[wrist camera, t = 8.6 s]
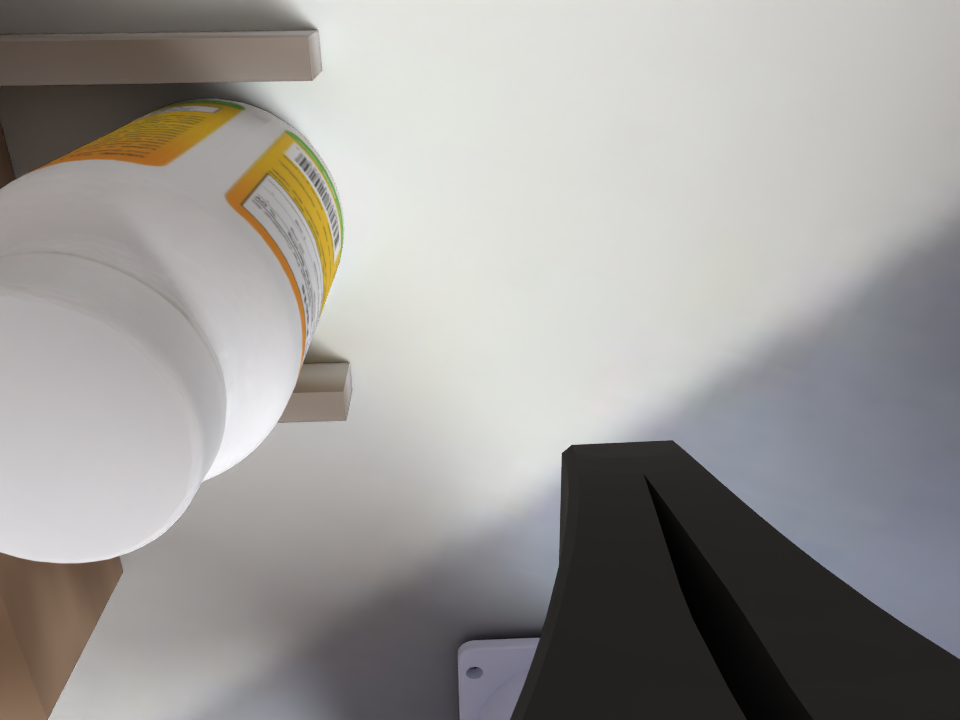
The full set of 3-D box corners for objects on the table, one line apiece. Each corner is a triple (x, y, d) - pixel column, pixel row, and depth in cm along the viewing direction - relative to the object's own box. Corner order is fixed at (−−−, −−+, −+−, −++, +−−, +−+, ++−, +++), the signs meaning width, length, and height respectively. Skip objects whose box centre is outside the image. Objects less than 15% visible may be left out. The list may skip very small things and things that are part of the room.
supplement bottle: (76, 259, 19) (-247, 514, 10) (157, 45, 17) (-157, 130, 8) (289, 360, 20) (168, 662, 11) (387, 172, 18) (332, 363, 9)
